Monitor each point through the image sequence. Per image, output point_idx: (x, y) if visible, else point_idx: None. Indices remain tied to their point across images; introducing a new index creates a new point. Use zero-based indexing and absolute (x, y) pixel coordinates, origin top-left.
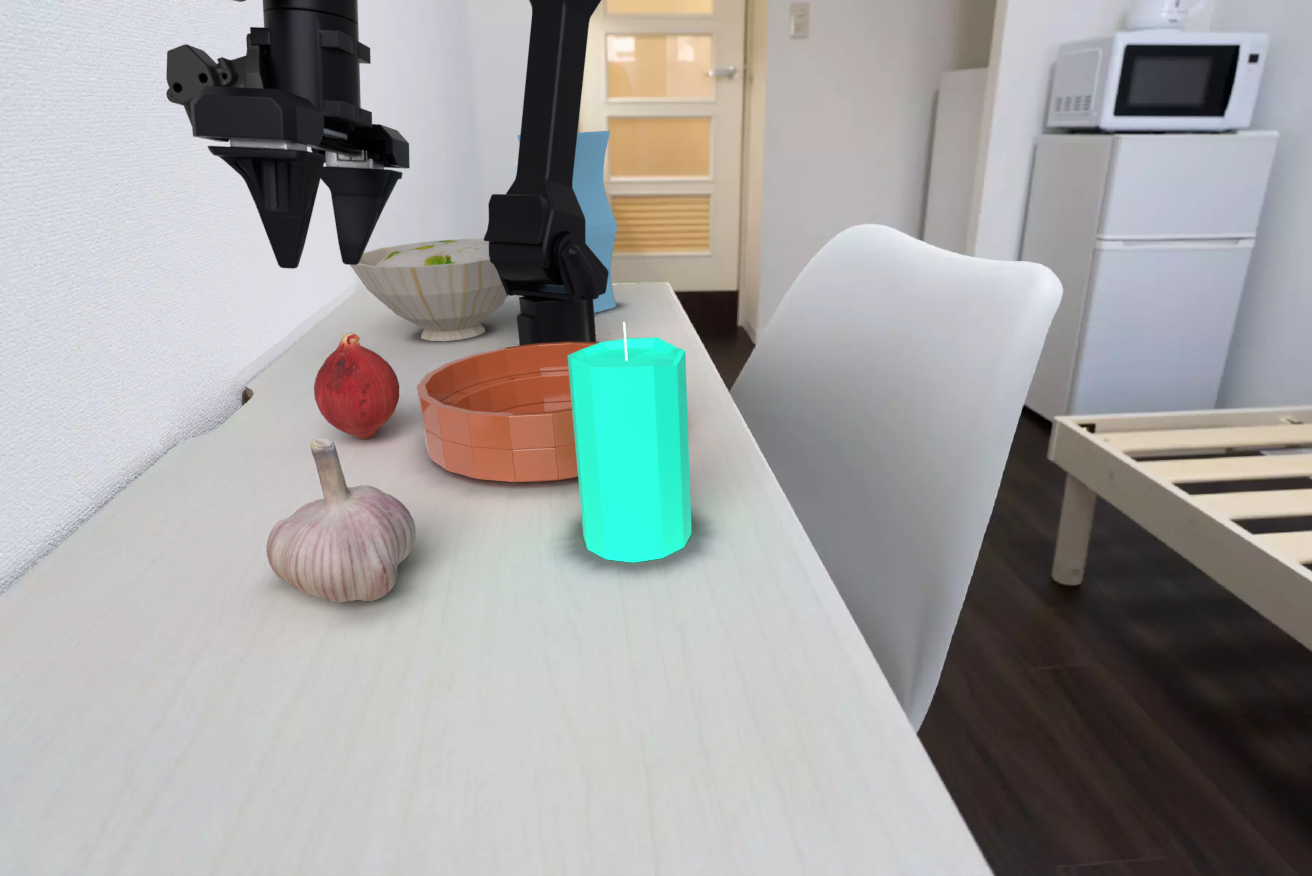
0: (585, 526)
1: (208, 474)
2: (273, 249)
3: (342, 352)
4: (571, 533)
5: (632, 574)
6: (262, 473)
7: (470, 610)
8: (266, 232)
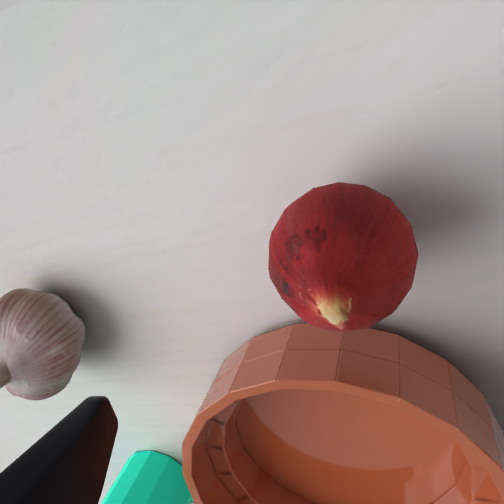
0: (126, 467)
1: (197, 38)
2: (50, 432)
3: (303, 295)
4: (154, 443)
5: (117, 469)
6: (213, 128)
7: (56, 397)
8: (4, 471)
